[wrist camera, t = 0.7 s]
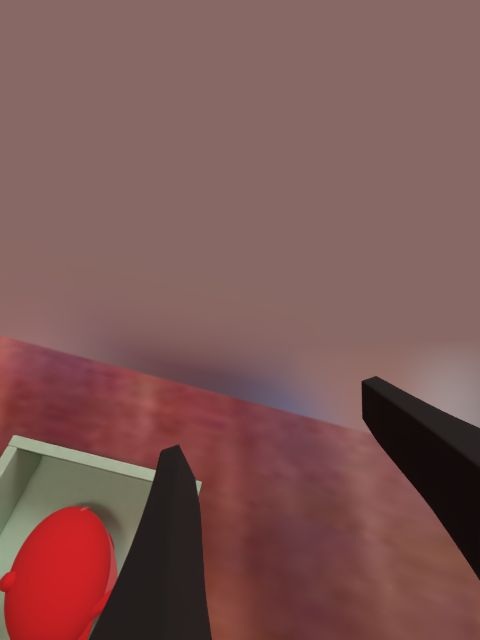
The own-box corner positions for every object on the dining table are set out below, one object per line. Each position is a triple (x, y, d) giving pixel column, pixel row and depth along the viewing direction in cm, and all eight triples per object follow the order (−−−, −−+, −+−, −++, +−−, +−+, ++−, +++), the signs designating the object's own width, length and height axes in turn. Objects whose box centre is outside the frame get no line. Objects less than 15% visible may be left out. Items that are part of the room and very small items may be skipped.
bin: (133, 756, 17) (116, 827, 13) (-96, 699, 17) (-177, 755, 13) (200, 484, 24) (201, 481, 21) (41, 444, 24) (13, 434, 21)
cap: (22, 530, 21) (-32, 539, 16) (111, 492, 23) (87, 489, 18) (33, 680, 18) (-32, 753, 13) (135, 621, 20) (115, 664, 14)
